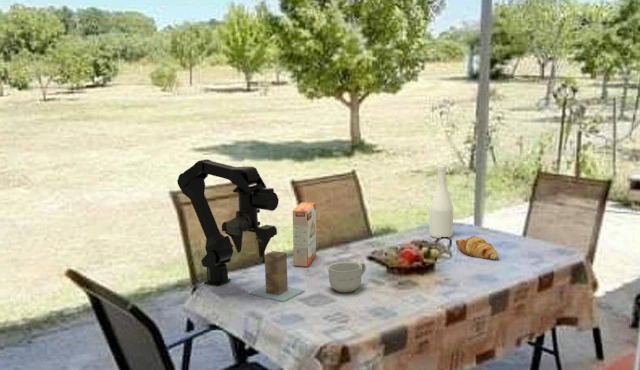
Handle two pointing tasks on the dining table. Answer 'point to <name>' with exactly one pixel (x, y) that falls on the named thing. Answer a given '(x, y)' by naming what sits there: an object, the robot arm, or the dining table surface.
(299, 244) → the cracker box
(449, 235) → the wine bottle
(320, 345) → the dining table surface
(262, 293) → the slate mat
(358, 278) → the teacup
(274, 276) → the walnut block
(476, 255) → the croissant
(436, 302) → the dining table surface
